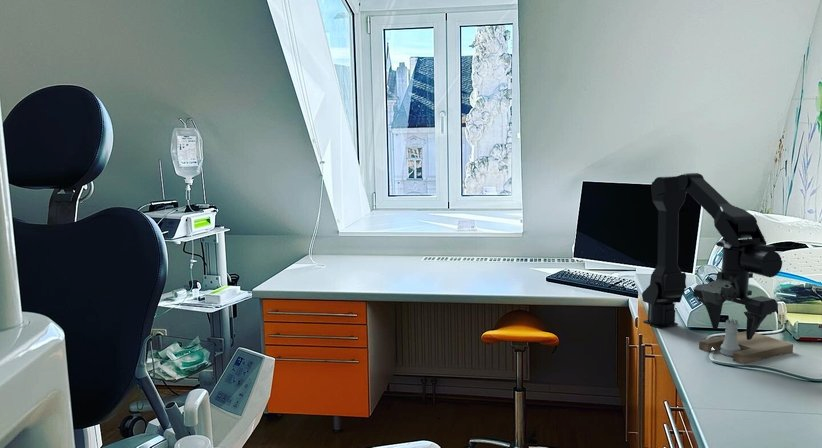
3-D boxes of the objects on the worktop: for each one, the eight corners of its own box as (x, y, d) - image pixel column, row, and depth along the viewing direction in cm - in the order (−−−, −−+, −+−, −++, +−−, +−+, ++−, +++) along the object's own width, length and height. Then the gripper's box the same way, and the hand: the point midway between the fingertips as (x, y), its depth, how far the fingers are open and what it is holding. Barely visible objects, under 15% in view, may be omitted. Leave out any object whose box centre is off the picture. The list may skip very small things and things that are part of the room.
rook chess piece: (734, 350, 162) (736, 317, 161) (744, 356, 158) (746, 323, 157) (716, 350, 162) (717, 318, 161) (725, 357, 158) (727, 323, 157)
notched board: (699, 348, 164) (699, 340, 164) (747, 338, 171) (748, 330, 171) (742, 364, 153) (742, 355, 153) (792, 352, 161) (793, 344, 160)
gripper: (677, 264, 162) (675, 328, 164) (746, 280, 145) (742, 350, 148) (711, 260, 167) (708, 322, 169) (781, 274, 150) (777, 343, 152)
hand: (731, 333), depth 159 cm, fingers open, 9 cm apart
